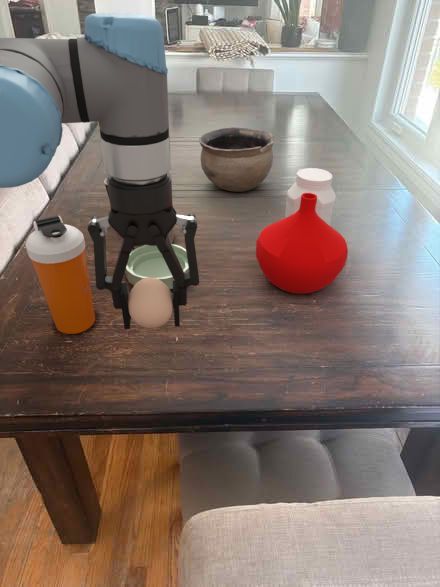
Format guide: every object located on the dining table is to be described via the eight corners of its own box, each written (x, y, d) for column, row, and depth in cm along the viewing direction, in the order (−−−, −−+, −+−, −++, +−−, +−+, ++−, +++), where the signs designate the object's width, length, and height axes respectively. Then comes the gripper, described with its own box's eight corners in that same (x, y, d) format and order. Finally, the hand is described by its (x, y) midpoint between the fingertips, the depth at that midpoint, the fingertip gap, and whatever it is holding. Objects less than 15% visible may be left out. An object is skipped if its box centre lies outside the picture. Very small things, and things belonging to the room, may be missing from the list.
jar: (279, 236, 103) (286, 178, 94) (287, 219, 111) (294, 164, 102) (325, 244, 101) (337, 185, 92) (330, 226, 108) (341, 170, 99)
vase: (342, 312, 80) (365, 223, 68) (248, 300, 82) (254, 213, 71) (337, 261, 94) (355, 181, 83) (257, 253, 97) (264, 174, 85)
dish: (124, 295, 83) (121, 281, 81) (128, 257, 94) (126, 244, 92) (194, 291, 84) (194, 277, 82) (190, 254, 96) (190, 241, 94)
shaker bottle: (63, 345, 71) (33, 245, 59) (42, 319, 77) (11, 222, 65) (109, 323, 76) (90, 226, 64) (86, 300, 81) (65, 207, 69)
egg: (167, 341, 59) (164, 298, 54) (123, 334, 60) (117, 290, 55) (180, 313, 64) (178, 270, 60) (139, 306, 65) (134, 264, 61)
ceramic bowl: (260, 206, 117) (264, 153, 108) (189, 195, 122) (187, 143, 113) (277, 178, 134) (282, 130, 125) (213, 169, 139) (214, 122, 130)
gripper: (218, 160, 52) (214, 303, 66) (58, 162, 50) (89, 309, 64) (225, 184, 46) (219, 335, 60) (44, 187, 44) (81, 342, 58)
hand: (152, 321), depth 62 cm, fingers closed on egg, 7 cm apart
